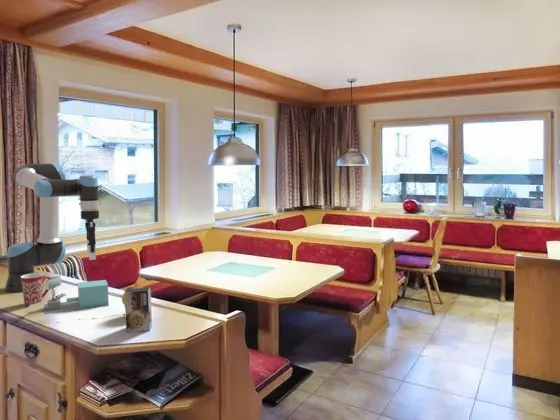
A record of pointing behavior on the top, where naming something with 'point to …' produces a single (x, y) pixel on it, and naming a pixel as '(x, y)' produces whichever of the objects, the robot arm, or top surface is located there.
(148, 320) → the cookie box
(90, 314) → the top surface
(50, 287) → the grey flat angled piece
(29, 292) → the mug
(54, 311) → the housing
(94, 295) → the cover
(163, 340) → the top surface
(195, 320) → the top surface
